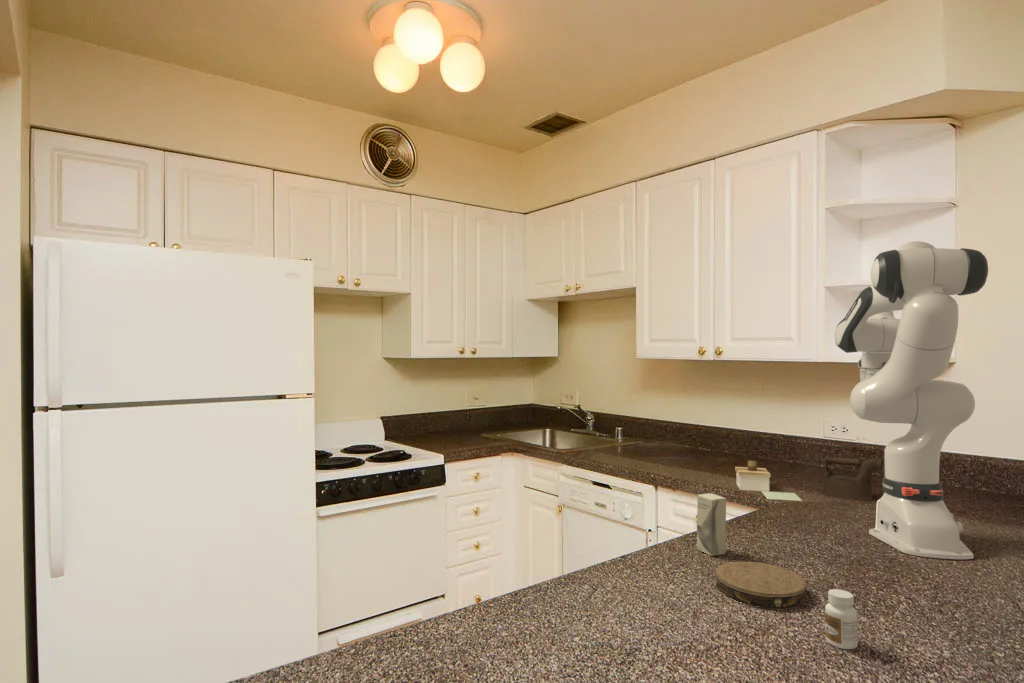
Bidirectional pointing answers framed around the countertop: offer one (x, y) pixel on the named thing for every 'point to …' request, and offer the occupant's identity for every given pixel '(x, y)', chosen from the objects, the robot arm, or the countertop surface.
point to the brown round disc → (761, 585)
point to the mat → (781, 496)
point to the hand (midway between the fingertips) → (879, 407)
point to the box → (711, 524)
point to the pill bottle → (841, 620)
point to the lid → (752, 470)
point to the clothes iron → (850, 478)
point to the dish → (752, 483)
